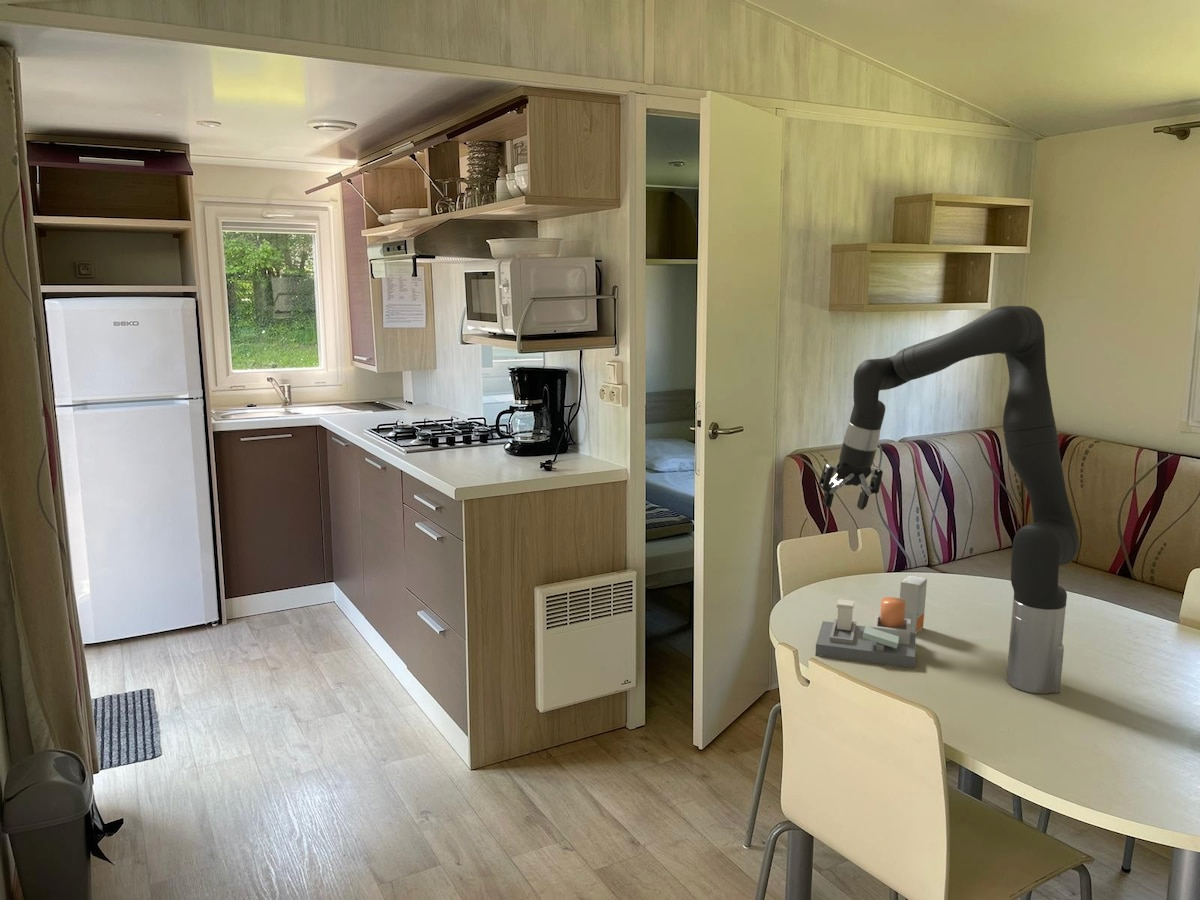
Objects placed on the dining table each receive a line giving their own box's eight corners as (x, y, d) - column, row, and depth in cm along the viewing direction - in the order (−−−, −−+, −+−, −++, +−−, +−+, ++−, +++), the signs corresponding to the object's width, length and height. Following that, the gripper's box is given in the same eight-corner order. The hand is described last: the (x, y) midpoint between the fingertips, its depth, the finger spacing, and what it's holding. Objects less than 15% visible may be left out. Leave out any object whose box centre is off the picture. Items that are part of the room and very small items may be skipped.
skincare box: (915, 635, 201) (919, 585, 199) (896, 631, 204) (900, 581, 202) (924, 627, 206) (927, 578, 204) (905, 623, 209) (908, 574, 206)
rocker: (897, 641, 190) (898, 636, 189) (896, 648, 186) (898, 643, 186) (864, 630, 192) (865, 625, 191) (862, 637, 188) (864, 632, 188)
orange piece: (904, 620, 196) (905, 598, 195) (903, 628, 191) (905, 606, 190) (880, 617, 197) (881, 596, 196) (879, 625, 193) (880, 603, 192)
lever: (852, 625, 200) (854, 600, 199) (851, 631, 197) (853, 606, 196) (837, 623, 201) (838, 599, 200) (835, 629, 198) (837, 604, 197)
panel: (914, 643, 197) (916, 619, 196) (914, 668, 184) (916, 643, 183) (822, 631, 204) (823, 608, 203) (815, 655, 191) (816, 630, 190)
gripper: (839, 447, 199) (822, 513, 205) (896, 451, 202) (878, 515, 208) (824, 435, 206) (809, 499, 211) (880, 439, 209) (863, 502, 215)
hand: (843, 507), depth 210 cm, fingers open, 8 cm apart
